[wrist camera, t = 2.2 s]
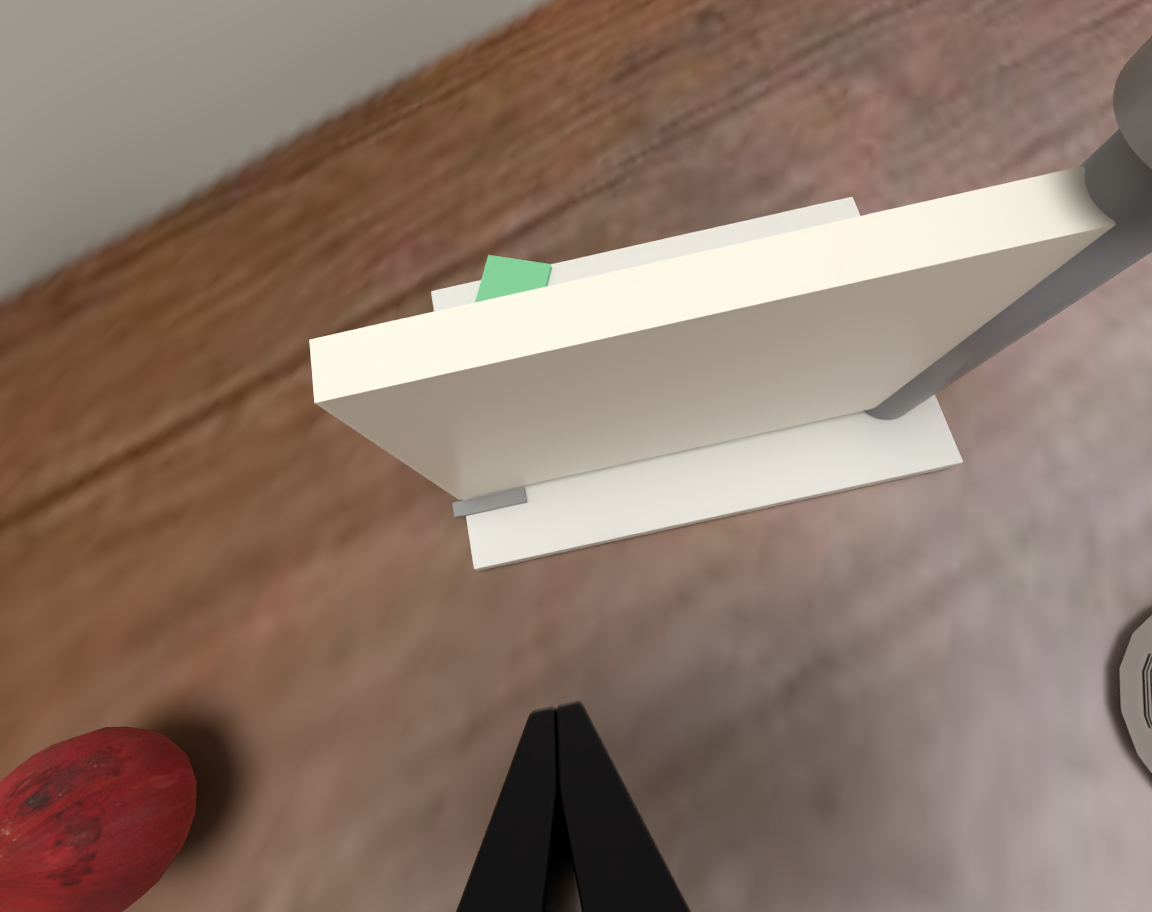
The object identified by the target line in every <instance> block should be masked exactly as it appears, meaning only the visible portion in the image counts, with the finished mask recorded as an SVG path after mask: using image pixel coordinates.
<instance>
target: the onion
mask: <svg viewBox="0 0 1152 912" xmlns="http://www.w3.org/2000/svg"><path fill="white" fill-rule="evenodd" d="M196 790H197V781H196V778H195V775H194V772H193V769H192V766H191V764H190V761H189V758H188V755H187V754H186V753H185V752H184V751H183V750H181V749H180V748H179V747H178V746H177V745H176V744H175V743H173V742H172V741H171V740H170V739H169V738H168V737H166V736H164V735H162V734H160V733H158V732H156V731H150V730H144V729H137V728H131V727H105V728H102V729H99V730H96V731H92V732H89V733H86V734H83V735H80V736H77V737H74V738H71V739H68V740H65V741H62V742H60V743H57V744H54V745H51V746H49V747H48V748H46V749H44V750H42V751H40V752H38V753H37V754H35V755H33V756H31V757H30V758H29V759H28V760H26V761H25V762H24V763H22V764H21V765H20V766H19V767H17V768H16V769H15V770H13V771H12V772H11V773H10V774H8V775H7V776H6V777H4V778H3V779H2V780H1V781H0V912H123V911H124V910H125V909H126V908H128V907H129V906H130V905H132V904H133V903H134V902H135V901H137V900H138V899H139V898H141V897H142V896H143V895H144V894H145V893H146V892H147V891H148V890H149V889H150V888H152V887H153V886H154V885H155V884H156V883H157V882H158V881H159V880H160V878H161V877H162V875H163V874H164V873H165V871H166V870H167V868H168V867H169V865H170V864H171V863H172V861H173V860H174V858H175V857H176V855H177V854H178V852H179V851H180V849H181V847H182V846H183V844H184V842H185V841H186V838H187V836H188V833H189V830H190V827H191V824H192V821H193V818H194V816H195V813H196Z"/></svg>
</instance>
